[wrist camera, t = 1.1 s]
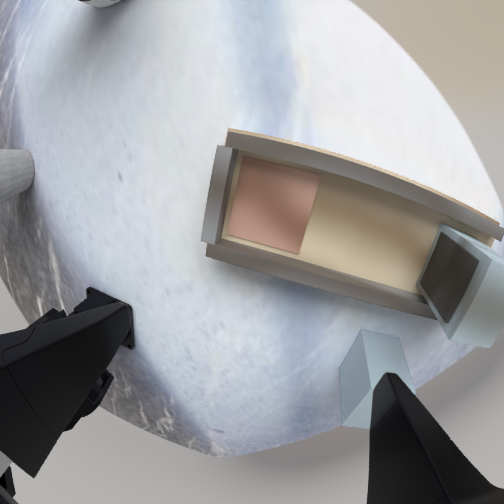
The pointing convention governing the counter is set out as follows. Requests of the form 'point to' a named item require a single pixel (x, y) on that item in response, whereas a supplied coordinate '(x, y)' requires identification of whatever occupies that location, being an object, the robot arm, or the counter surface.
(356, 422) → the block
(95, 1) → the supplement can
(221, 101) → the counter surface
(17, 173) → the house plant
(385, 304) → the rail plate
